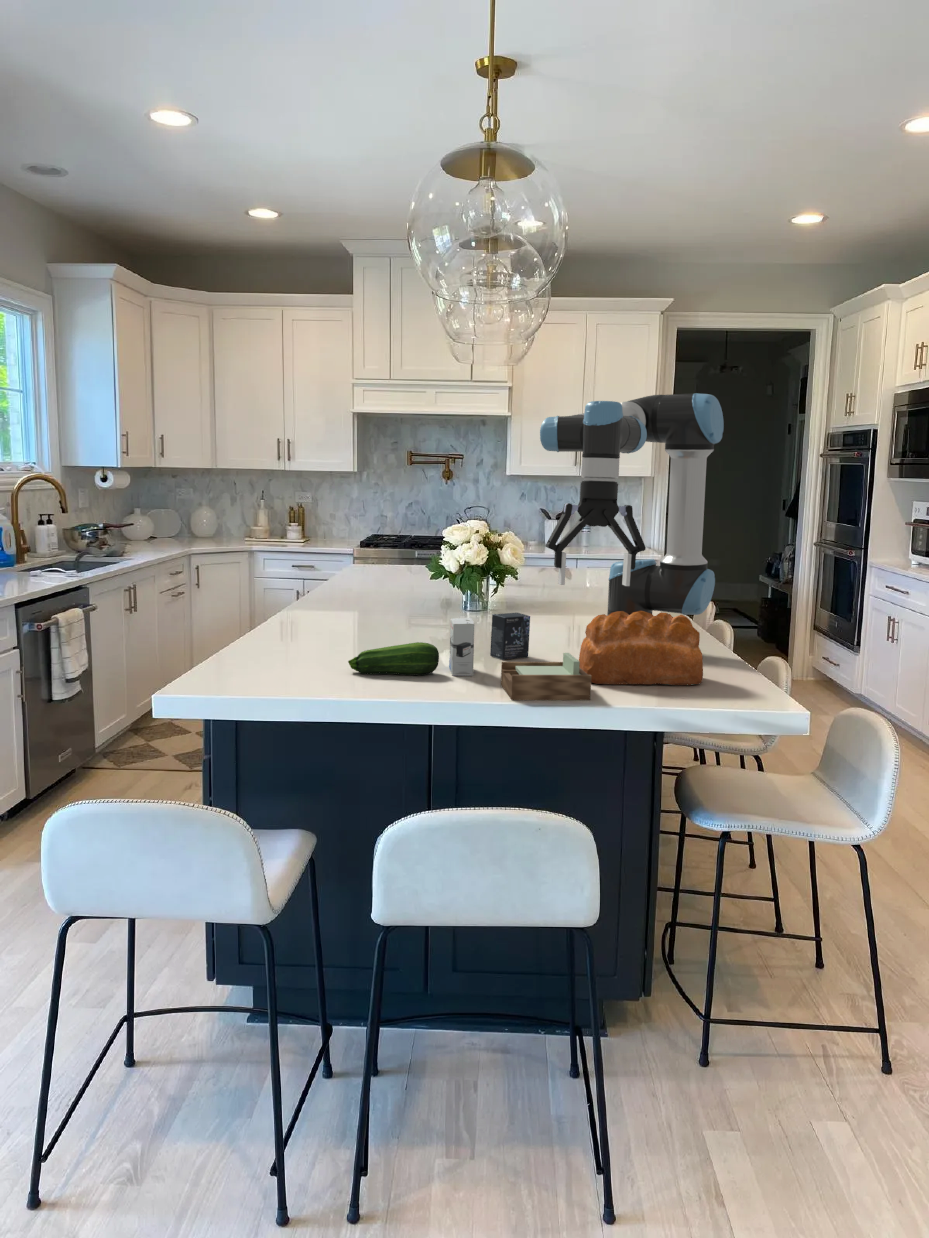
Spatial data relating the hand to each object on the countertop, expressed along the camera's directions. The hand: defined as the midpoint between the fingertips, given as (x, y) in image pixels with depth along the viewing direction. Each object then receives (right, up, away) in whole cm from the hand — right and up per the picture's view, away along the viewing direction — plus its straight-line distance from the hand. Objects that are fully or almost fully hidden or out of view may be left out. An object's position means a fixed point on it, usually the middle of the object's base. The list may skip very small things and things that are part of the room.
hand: (593, 585), depth 184 cm
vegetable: (-42, -19, +14) cm, 49 cm away
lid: (-9, -19, 0) cm, 21 cm away
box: (-15, -17, +36) cm, 43 cm away
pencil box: (-10, -22, +1) cm, 24 cm away
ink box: (-27, -19, +18) cm, 38 cm away
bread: (+12, -21, +16) cm, 29 cm away
